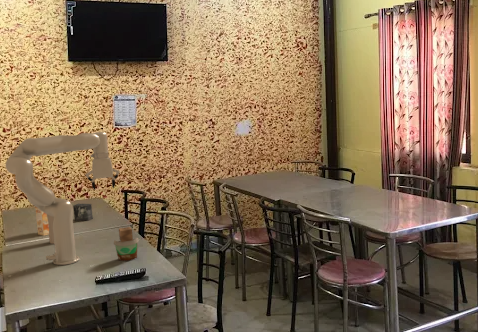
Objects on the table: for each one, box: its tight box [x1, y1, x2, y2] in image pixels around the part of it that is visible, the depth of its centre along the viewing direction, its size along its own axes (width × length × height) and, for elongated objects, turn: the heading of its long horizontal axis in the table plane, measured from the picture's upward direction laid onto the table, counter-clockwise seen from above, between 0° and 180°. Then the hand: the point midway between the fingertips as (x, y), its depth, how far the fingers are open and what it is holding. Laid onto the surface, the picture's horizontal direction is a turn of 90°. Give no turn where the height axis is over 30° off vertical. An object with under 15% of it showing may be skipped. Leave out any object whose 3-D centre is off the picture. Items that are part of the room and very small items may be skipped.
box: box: [72, 203, 94, 222], centre depth 360 cm, size 11×7×10 cm, turn 73°
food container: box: [113, 237, 140, 262], centre depth 264 cm, size 12×6×10 cm, turn 105°
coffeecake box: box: [34, 206, 49, 237], centre depth 328 cm, size 15×7×20 cm, turn 143°
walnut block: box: [118, 226, 134, 242], centre depth 263 cm, size 6×6×6 cm
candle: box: [47, 215, 55, 245], centre depth 303 cm, size 7×14×20 cm, turn 59°
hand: (104, 188), depth 280 cm, fingers open, 9 cm apart
